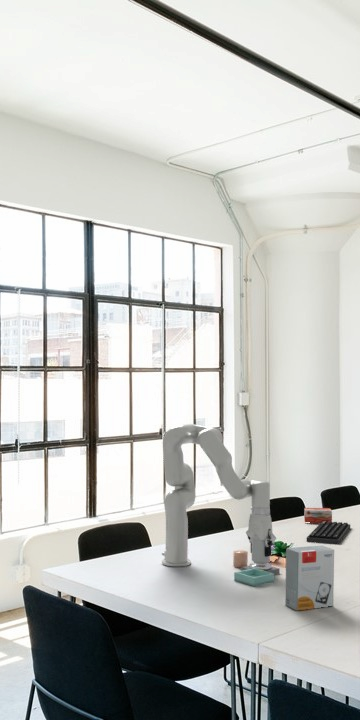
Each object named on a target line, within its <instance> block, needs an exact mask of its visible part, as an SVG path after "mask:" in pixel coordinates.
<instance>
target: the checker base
mask: <svg viewBox="0 0 360 720" xmlns="http://www.w3.org/2000/svg"><path fill="white" fill-rule="evenodd" d="M248 569H250V565H248V566H245V567H242V568H241V571H243V570H248ZM260 570H262V569H260ZM263 571H266V572H270V573H273V574H274V576H275V575H278V574H280V567H276V566H272V568H271V569H270V570H263Z"/></svg>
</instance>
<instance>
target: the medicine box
mask: <svg viewBox="0 0 360 720" xmlns="http://www.w3.org/2000/svg"><path fill="white" fill-rule="evenodd" d="M303 511H304V515H303V516H304V523H305V522H310V523H321V522H323V521H327V522H331V521H332V522H333V511H332V509H331V508H330V507H329V508H328V507H304V510H303Z"/></svg>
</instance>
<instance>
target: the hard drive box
mask: <svg viewBox="0 0 360 720" xmlns="http://www.w3.org/2000/svg"><path fill="white" fill-rule="evenodd" d="M334 574H335V549H333V548H331V547H328V546H326V545H325V546H324V545H310V546H309V545H308V546H299V547H298V546H297V547H296V546H295V547H286V550H285V598H284V599H285V602H284V603H285V605H284V606H287V607H289V608H291V609H292V610H295V611H307V610H306V609H308V610H312V609H313V610H314V608H315V609H322V608H321V607H326V608H329V607H328V606H332V607H334V594H335V593H334V589H335V588H334V586H335V583H334V581H335V575H334Z"/></svg>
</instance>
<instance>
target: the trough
mask: <svg viewBox="0 0 360 720" xmlns="http://www.w3.org/2000/svg"><path fill="white" fill-rule="evenodd" d="M233 579H234V581H235V582H238V583H241V584H245V585H248V586H251V587H257V586H262V585H267V584H272V583H275V575H274V574H273V573H270V572H266V571H263V570H259V569H255V568H253V569H248V570H243V571H242V570H240V571H239V570H238V571H234V578H233Z"/></svg>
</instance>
